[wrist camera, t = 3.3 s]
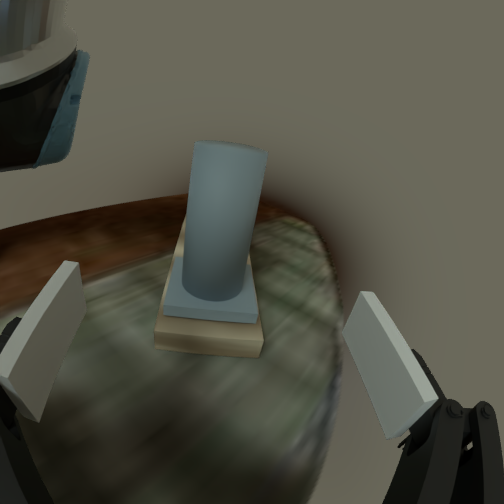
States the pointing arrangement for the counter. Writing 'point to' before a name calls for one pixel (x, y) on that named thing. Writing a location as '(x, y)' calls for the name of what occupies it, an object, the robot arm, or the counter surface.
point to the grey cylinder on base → (218, 235)
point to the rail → (206, 328)
